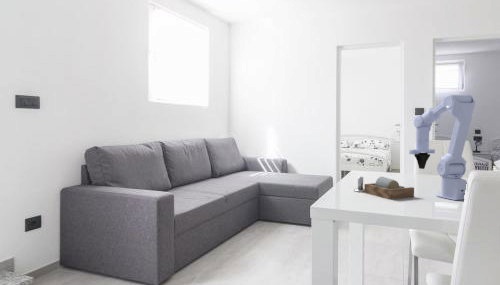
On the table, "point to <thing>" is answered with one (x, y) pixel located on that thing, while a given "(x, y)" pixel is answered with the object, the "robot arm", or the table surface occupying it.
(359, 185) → the stand post
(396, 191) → the wooden tray
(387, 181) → the ceramic mug
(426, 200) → the table surface
